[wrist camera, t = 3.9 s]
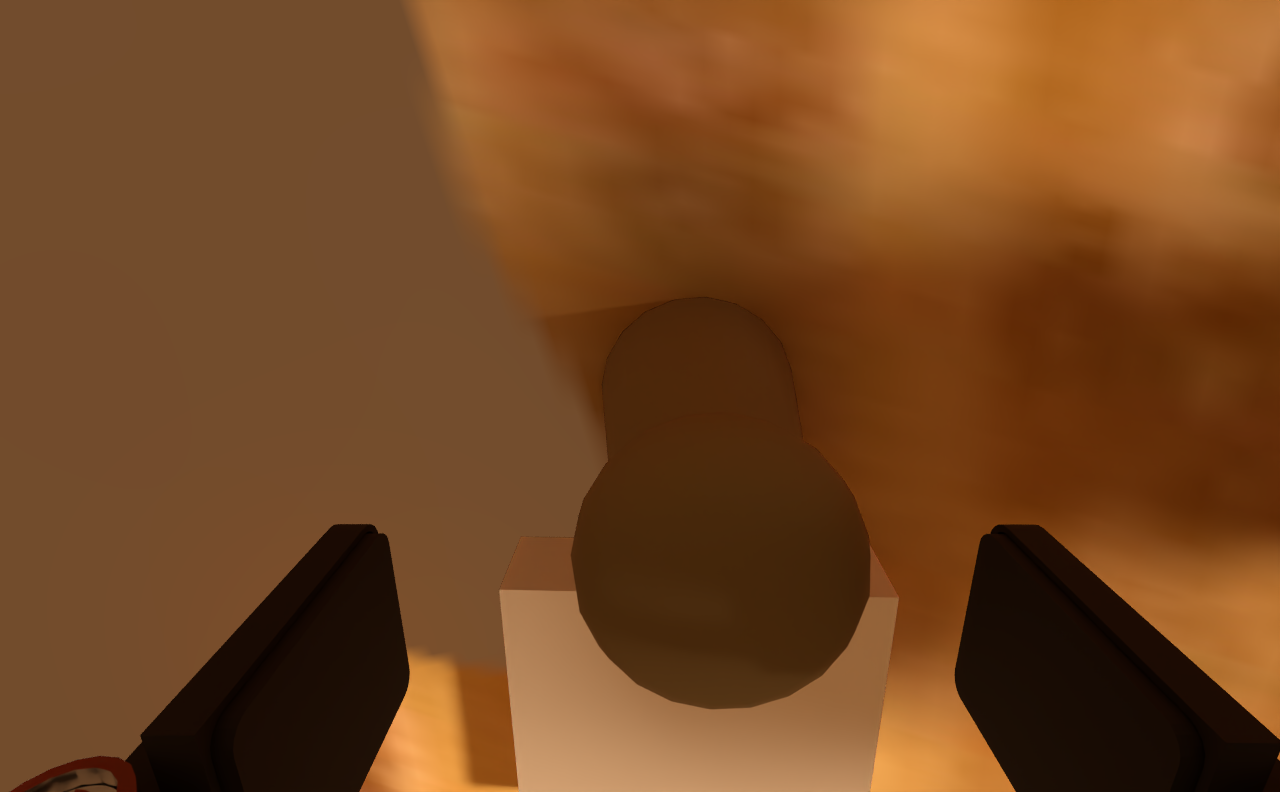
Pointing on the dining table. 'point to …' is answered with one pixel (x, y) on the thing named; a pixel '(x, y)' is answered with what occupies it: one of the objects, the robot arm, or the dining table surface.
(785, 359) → the cork
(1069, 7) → the dining table surface
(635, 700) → the block
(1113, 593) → the robot arm
